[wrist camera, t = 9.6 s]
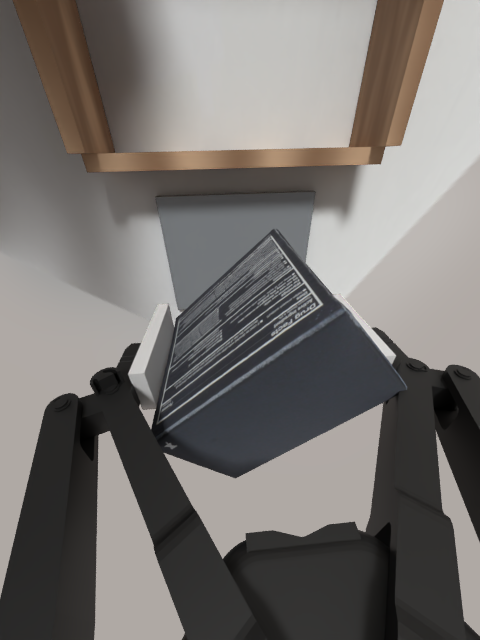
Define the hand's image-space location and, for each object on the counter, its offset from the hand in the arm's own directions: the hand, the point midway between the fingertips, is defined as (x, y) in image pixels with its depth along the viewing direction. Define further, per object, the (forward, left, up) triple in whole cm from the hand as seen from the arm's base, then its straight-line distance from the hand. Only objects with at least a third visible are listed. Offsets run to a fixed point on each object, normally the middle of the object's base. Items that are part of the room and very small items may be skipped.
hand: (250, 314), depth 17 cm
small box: (0, 0, -2) cm, 2 cm away
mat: (0, 0, -12) cm, 12 cm away
